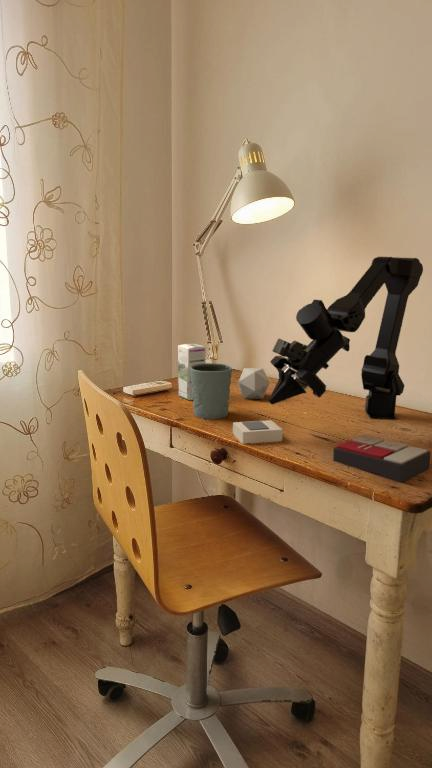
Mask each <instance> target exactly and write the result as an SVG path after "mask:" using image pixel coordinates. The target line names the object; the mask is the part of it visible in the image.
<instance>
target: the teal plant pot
mask: <svg viewBox="0 0 432 768" xmlns="http://www.w3.org/2000/svg"><path fill="white" fill-rule="evenodd" d="M190 370H191V381H192V386H193V389H192V391H193V399H194V400H193V405H192V407H193V414H194V416H196V417H197V418H201V419H208V420H215V419H217V420H218V419H223V418H225V417H227V416H228V414H229V406H230V402H229V400H230V394H231V393H230V392H231V389H230V387H231V384H232V372H233V367H232V365H229V364H225V363H217V362H207V363H206V362H205V363H202V364H196V365H193V366H191V368H190Z"/></svg>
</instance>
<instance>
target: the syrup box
mask: <svg viewBox="0 0 432 768" xmlns="http://www.w3.org/2000/svg"><path fill="white" fill-rule="evenodd" d="M202 363H206V346H204V345H200V344H196V343H183V344H178V345H177V396H178V397H181V398H183V399H185V400H187V401H194V399H193V391H192V389H193V386H192V381H191V370H190V368H191V366H193V365H196V364H202Z"/></svg>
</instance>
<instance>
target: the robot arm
mask: <svg viewBox="0 0 432 768" xmlns="http://www.w3.org/2000/svg"><path fill="white" fill-rule="evenodd" d="M423 272H424V267H423V263H421V261H420V259H419V258H417V257H399V256H398V257H397V256H395V257H393V256H377V257H374V258H373V259H372V262H371V265H370V266H369V267H368V268H367V270H366V271H365V272H364V273H363V275H362V276H361V277H360V279H359V280H358V281H357V282H356V284H355V285H354V286H353V287H352V288H351V290H350V291H349V292H348V293H347V294H346V295H344V296H342V297H340V298H337V299H336V300H335V301H333V303H332V304H330V305H329V306H328V307H327V308H326V305H325V304H324V302H323V300H321V299H313V300H312V302H311V303H308V304H306V305H304V306H303V307H302V308H301V309H298V311H297V312H296V315H295V318H296V321H297V323H298V325H299V326H300V327H301V329H302V330H303V331H304V333H305V334H306V336H307V337H308V338H309V339H311V341H310V343H309V344H303V343H301V342H299V341H297V340H293V341H291V342H289V341H286V340H283V339H281V338H280V337H278V339H277V341H276V342H275V344H274V347H273V348H272V352H273V353H276V354H277V355H275V356H274V357H273V358H272V359H271V360H270V361H269V362H270V364H271V365H272V366H273V367H274V368H275V369H276V370H277V372H278V380H277V383H276V384H275V386H274V388H273V391H272V392H271V394H270V396H269V398H268V403H269V404H270V405H271V406H272V405H275V404H278V403H280V402H283V401H285V400H288V399H290V398H293V397H296V396H297V397H298V395H303V394H304V395H305V394H307V391H306V389H307V388H308V387H309V388H310V390H311V391H312V394H313V395H314V396H315V397H317V398H319V399H320V398H321V397H322V396H323V395H324V394H325V393H326V391H327V385H326V384H325V382H324V381H322V379H321V378H320V377H319V376H318V375H317V374H318V373H319V372H320V371H321V370H322V369H324V370H327V369H328V368H329V367H330V365H329V364H328V363H329V362H330V361H331V360H332V359H333V357H334V356H335V355H336V354H338V352H339V351H340V350H341V349H342V350H343V351H346V352H349V351H350V349H351V348H350V346H351V345H350V341H351V339H350V338H348V337H346V336H345V335H343V333H342V332H345V333H346V332H347V333H355V332H357V331H358V330H359V329H360V327H361V325H362V324H363V321H364V320H365V318H366V309H367V306H368V305H369V304H370V302H371V301H372V300H373V299H374V297H375V296H376V295H377V294H378V292H379V291H380V290H381V288H382V287H383V286H384V285H385V289H386V291H387V295H386V299H385V303H384V308H383V313H382V317H381V320H380V321H381V322H380V325H379V326H380V327H379V331H378V335H377V339H376V344H375V348H374V350H373V351H371V352H372V353H370V355H369V354H366V355H365V356H364V359H363V365H362V367H361V373H360V374H361V375H360V376H361V382H362V389H363V390H364V391H368V395H366V396H365V404H364V405H365V406H364V411H365V413H366V415H368V417H369V418H371V419H392V420H393V419H397V416H396V414H395V413H396V405H397V404H396V403H397V396H401V395H402V394H403V393H404V389H405V384H404V382H403V380H402V378H401V376H400V375H399V371H400V363H399V361H398V358H397V354H396V353H397V347H398V344H399V343H398V342H399V339H400V335H401V330H402V326H403V320H404V317H405V313H406V308H407V303H408V299H409V296H410V295H411V294H412V293H413V292H414V291H415V290H416V288H418V286H419V282H420V279H421V277H422V275H423Z"/></svg>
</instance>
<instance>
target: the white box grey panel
mask: <svg viewBox="0 0 432 768" xmlns="http://www.w3.org/2000/svg"><path fill="white" fill-rule="evenodd" d="M233 434H234V435H233ZM232 435H233V436H234V437H235V438H236V439H237V440H238V441H239V442H240V443H241V444H242V445H248V444H247V443H250V444H260V442H261V444H262V443H263V442H264V443H275V442H283V429H282V427H281V426H279V425H278V424H277V423H275V422H274V421H273V420H271V419H269V420H268V419H267V420H254V421H253V420H252V421H239V422H237V421H235V422H232ZM264 443H263V444H264Z"/></svg>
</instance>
